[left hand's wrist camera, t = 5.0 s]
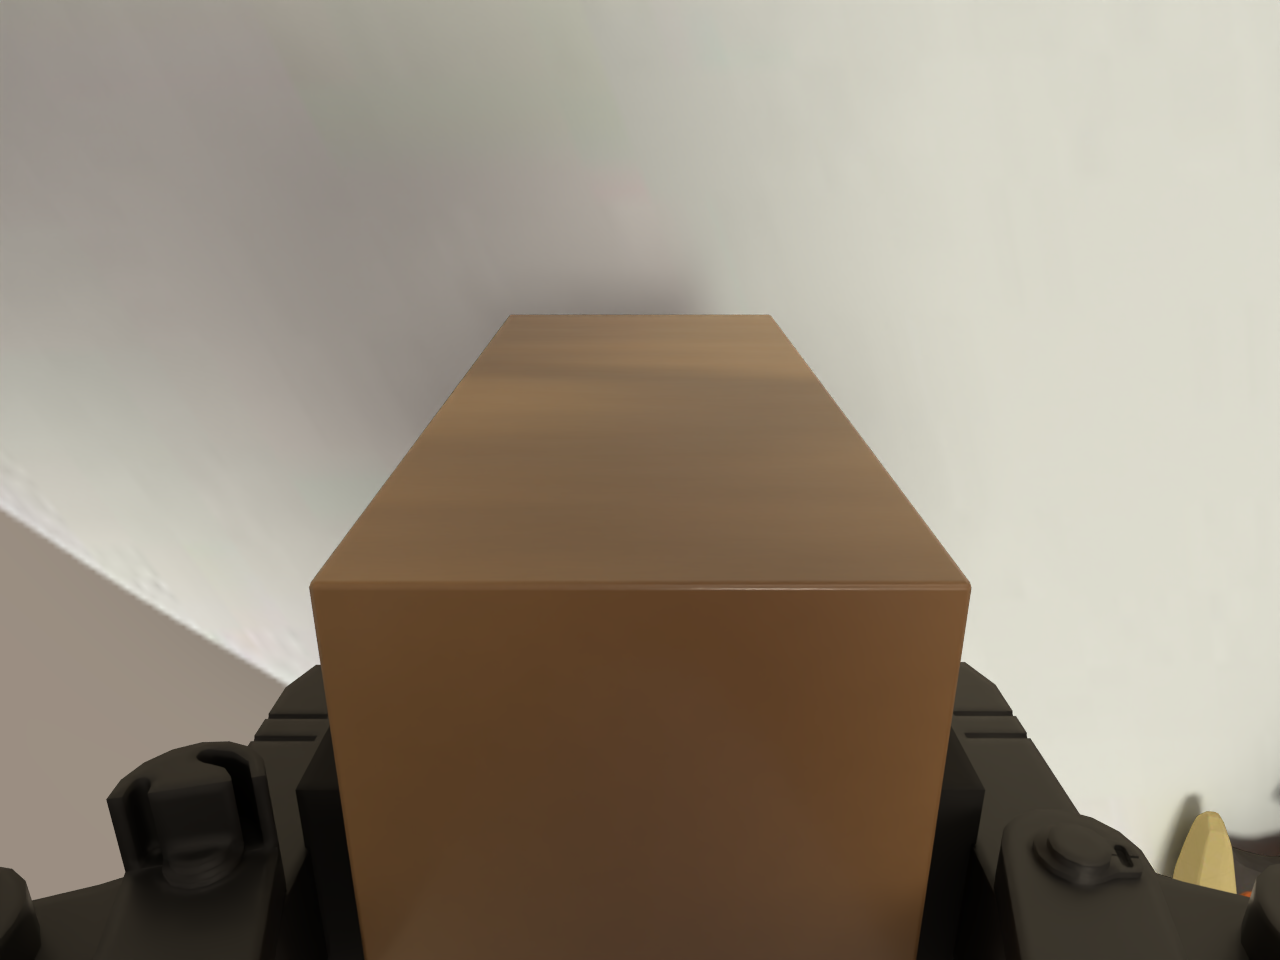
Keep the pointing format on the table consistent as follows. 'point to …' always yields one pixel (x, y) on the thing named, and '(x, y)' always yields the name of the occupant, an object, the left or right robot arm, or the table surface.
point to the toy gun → (1218, 858)
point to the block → (640, 661)
